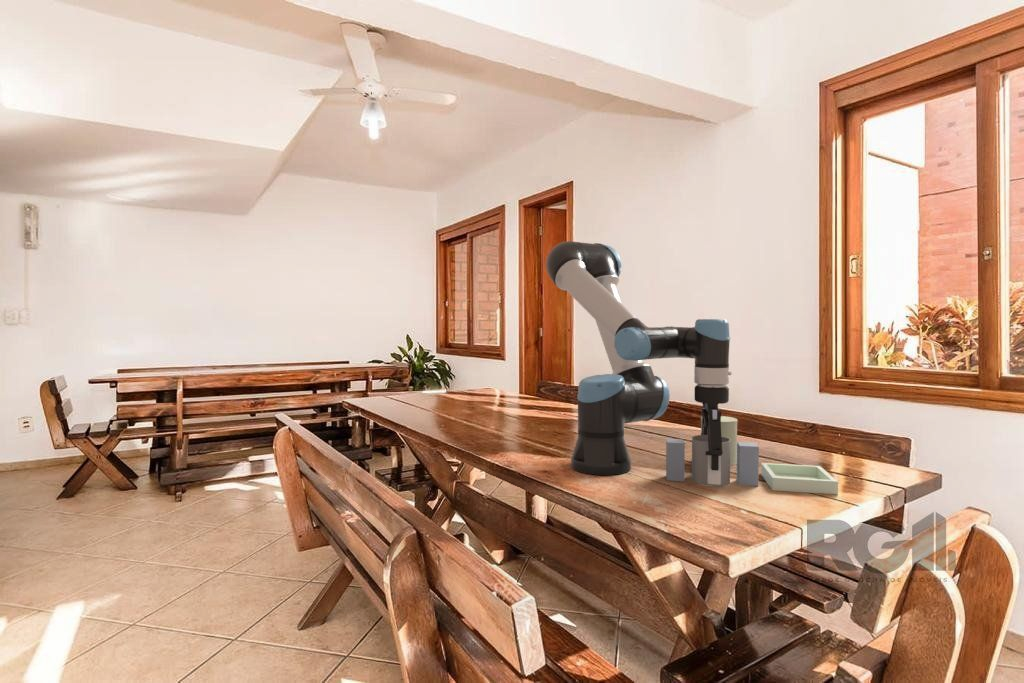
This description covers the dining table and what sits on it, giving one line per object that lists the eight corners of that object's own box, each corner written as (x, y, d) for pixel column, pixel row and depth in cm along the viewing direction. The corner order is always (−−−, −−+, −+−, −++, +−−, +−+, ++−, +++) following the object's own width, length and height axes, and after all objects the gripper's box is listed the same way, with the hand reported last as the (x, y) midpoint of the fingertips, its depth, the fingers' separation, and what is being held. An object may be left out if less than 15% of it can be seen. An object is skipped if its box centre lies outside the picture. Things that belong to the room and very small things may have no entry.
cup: (731, 478, 132) (731, 436, 131) (728, 488, 124) (729, 443, 124) (693, 474, 135) (694, 433, 135) (689, 483, 128) (689, 440, 127)
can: (731, 457, 151) (731, 413, 151) (742, 466, 142) (742, 420, 142) (696, 456, 152) (697, 413, 152) (705, 465, 143) (705, 419, 142)
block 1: (666, 480, 130) (666, 442, 130) (666, 475, 134) (666, 438, 134) (684, 481, 129) (684, 443, 129) (683, 476, 133) (683, 439, 133)
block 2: (739, 484, 126) (739, 445, 126) (736, 480, 130) (737, 442, 130) (758, 486, 125) (758, 446, 125) (754, 481, 129) (755, 442, 129)
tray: (772, 490, 122) (772, 477, 122) (760, 474, 135) (761, 462, 135) (837, 494, 119) (838, 481, 119) (819, 477, 132) (819, 465, 132)
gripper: (737, 392, 116) (736, 492, 117) (721, 379, 140) (720, 462, 141) (699, 391, 118) (698, 490, 118) (690, 379, 142) (689, 461, 143)
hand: (710, 475), depth 130 cm, fingers open, 13 cm apart
